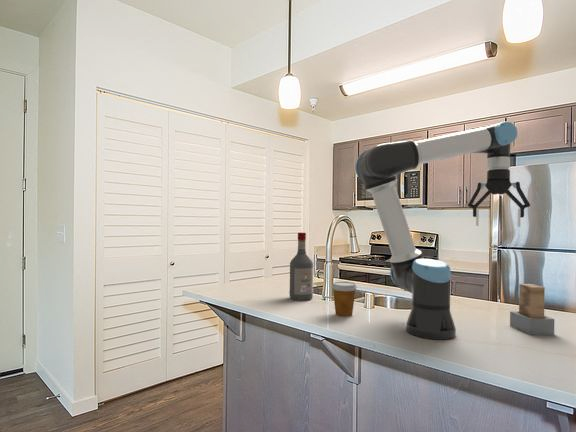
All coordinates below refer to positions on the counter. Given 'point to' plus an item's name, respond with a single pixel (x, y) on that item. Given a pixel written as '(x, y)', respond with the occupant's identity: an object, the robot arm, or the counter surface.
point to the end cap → (532, 324)
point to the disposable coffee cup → (344, 298)
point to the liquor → (301, 273)
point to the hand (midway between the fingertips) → (497, 226)
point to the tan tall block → (531, 300)
